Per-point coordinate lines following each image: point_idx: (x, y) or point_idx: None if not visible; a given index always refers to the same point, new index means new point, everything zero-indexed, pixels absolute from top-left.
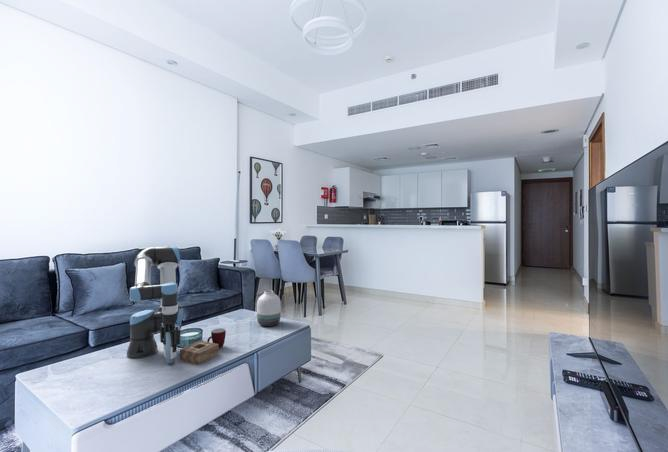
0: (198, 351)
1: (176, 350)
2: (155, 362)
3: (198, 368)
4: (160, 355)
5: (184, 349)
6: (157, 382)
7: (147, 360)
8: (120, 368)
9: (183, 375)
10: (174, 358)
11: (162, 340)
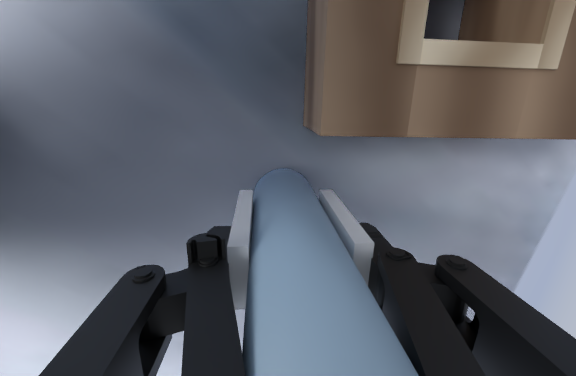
0: (561, 102)
1: (375, 229)
2: (164, 221)
3: (521, 172)
4: (59, 113)
5: (378, 119)
6: None
7: (71, 222)
8: (49, 358)
9: (485, 270)
10: (308, 183)
11: (165, 347)
